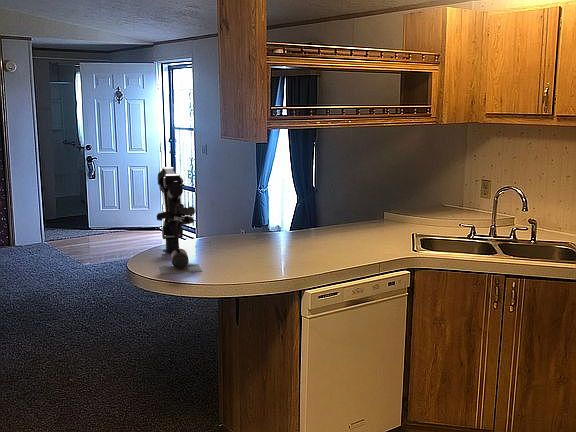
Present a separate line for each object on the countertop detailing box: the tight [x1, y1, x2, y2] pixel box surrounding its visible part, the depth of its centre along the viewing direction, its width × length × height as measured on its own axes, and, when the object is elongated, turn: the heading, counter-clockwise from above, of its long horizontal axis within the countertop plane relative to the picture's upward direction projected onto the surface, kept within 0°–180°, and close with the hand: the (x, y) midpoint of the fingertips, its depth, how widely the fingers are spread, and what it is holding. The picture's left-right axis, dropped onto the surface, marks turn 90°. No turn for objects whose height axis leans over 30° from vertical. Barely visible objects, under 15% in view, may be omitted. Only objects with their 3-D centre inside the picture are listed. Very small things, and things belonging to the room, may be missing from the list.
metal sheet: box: [159, 263, 203, 275], centre depth 255 cm, size 11×16×1 cm
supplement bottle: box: [170, 248, 190, 269], centre depth 256 cm, size 7×7×12 cm
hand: (176, 238), depth 267 cm, fingers closed
